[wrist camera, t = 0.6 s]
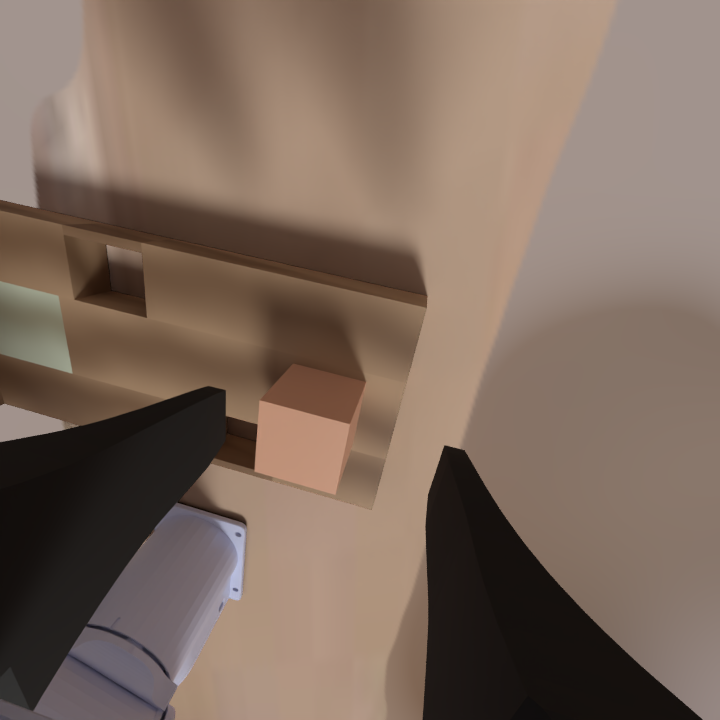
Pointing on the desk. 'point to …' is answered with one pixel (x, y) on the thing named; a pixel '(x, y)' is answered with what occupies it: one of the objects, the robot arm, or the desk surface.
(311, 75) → the desk surface
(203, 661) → the desk surface
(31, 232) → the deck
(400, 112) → the desk surface
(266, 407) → the block
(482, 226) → the desk surface
